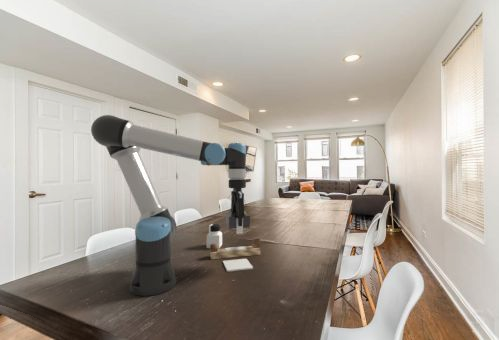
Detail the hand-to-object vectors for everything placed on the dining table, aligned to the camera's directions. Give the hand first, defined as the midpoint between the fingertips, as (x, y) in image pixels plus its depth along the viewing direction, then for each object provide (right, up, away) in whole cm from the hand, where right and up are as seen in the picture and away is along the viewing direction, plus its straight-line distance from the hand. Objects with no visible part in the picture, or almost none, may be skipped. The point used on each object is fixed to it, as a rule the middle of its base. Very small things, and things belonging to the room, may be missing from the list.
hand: (237, 231), depth 105 cm
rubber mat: (0, -15, 0) cm, 15 cm away
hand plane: (-2, -15, +13) cm, 20 cm away
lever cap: (0, +2, 0) cm, 2 cm away
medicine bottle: (-14, -15, +27) cm, 34 cm away
